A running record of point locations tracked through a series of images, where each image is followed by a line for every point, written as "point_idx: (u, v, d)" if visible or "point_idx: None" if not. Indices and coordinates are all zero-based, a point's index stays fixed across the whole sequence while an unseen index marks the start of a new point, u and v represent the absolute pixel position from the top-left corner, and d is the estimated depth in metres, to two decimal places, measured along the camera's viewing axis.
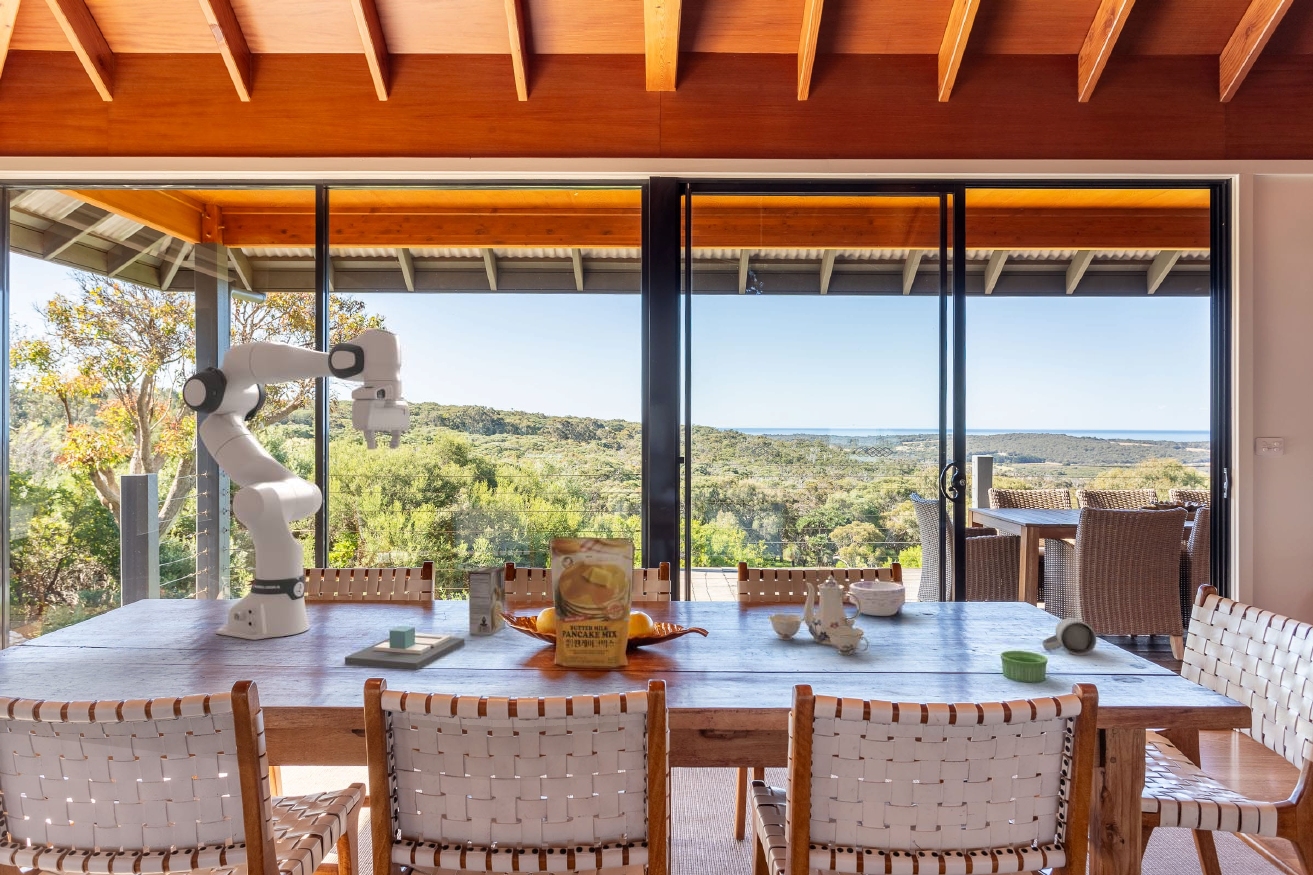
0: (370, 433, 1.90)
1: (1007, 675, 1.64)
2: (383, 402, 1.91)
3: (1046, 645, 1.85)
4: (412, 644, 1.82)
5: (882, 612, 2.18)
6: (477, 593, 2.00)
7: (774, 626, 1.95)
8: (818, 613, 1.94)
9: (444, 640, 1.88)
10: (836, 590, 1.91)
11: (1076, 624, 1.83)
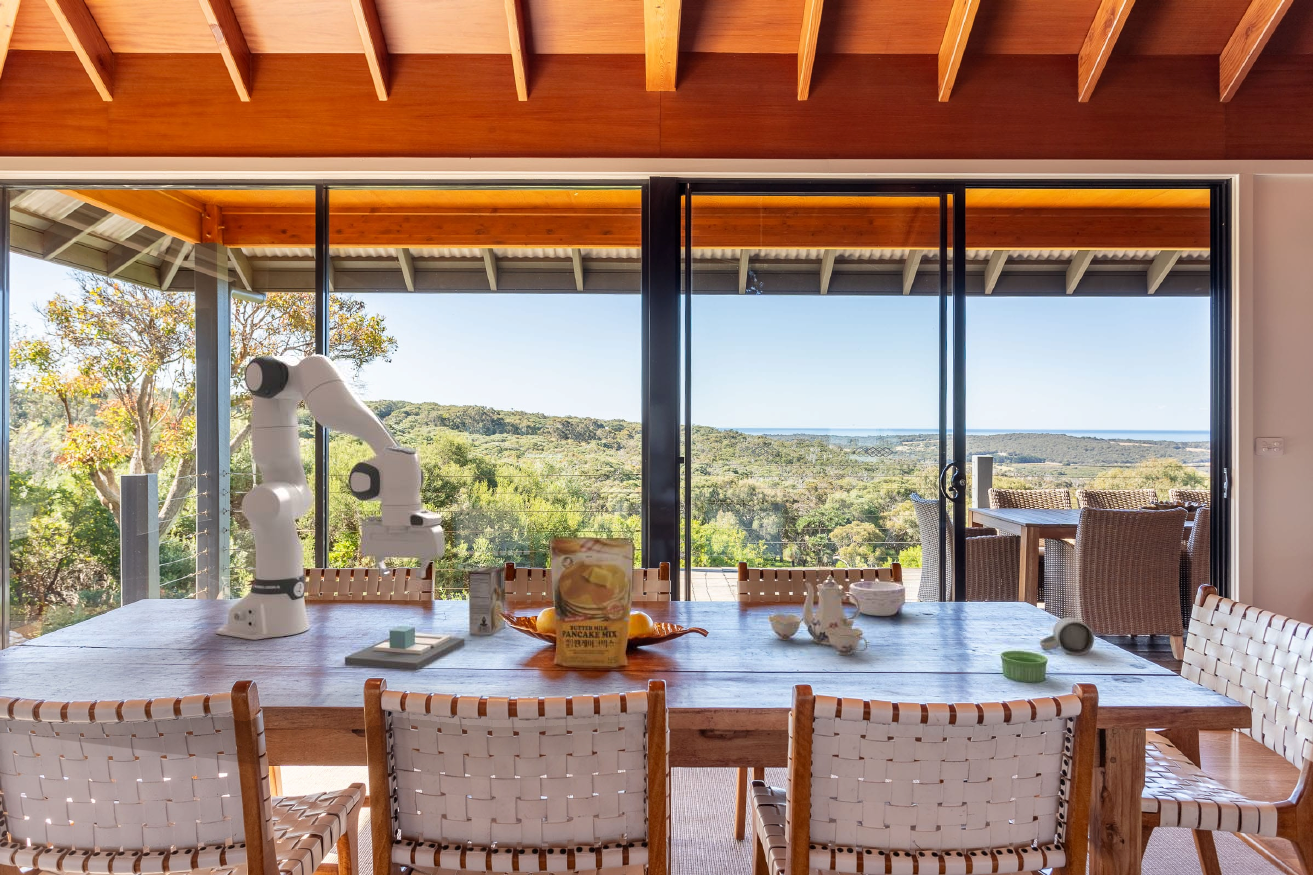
0: (429, 560, 1.80)
1: (1007, 675, 1.64)
2: None
3: (1044, 645, 1.85)
4: (412, 644, 1.82)
5: (882, 612, 2.18)
6: (477, 593, 2.00)
7: (773, 626, 1.95)
8: (817, 613, 1.93)
9: (444, 640, 1.88)
10: (835, 590, 1.91)
11: (1074, 624, 1.83)
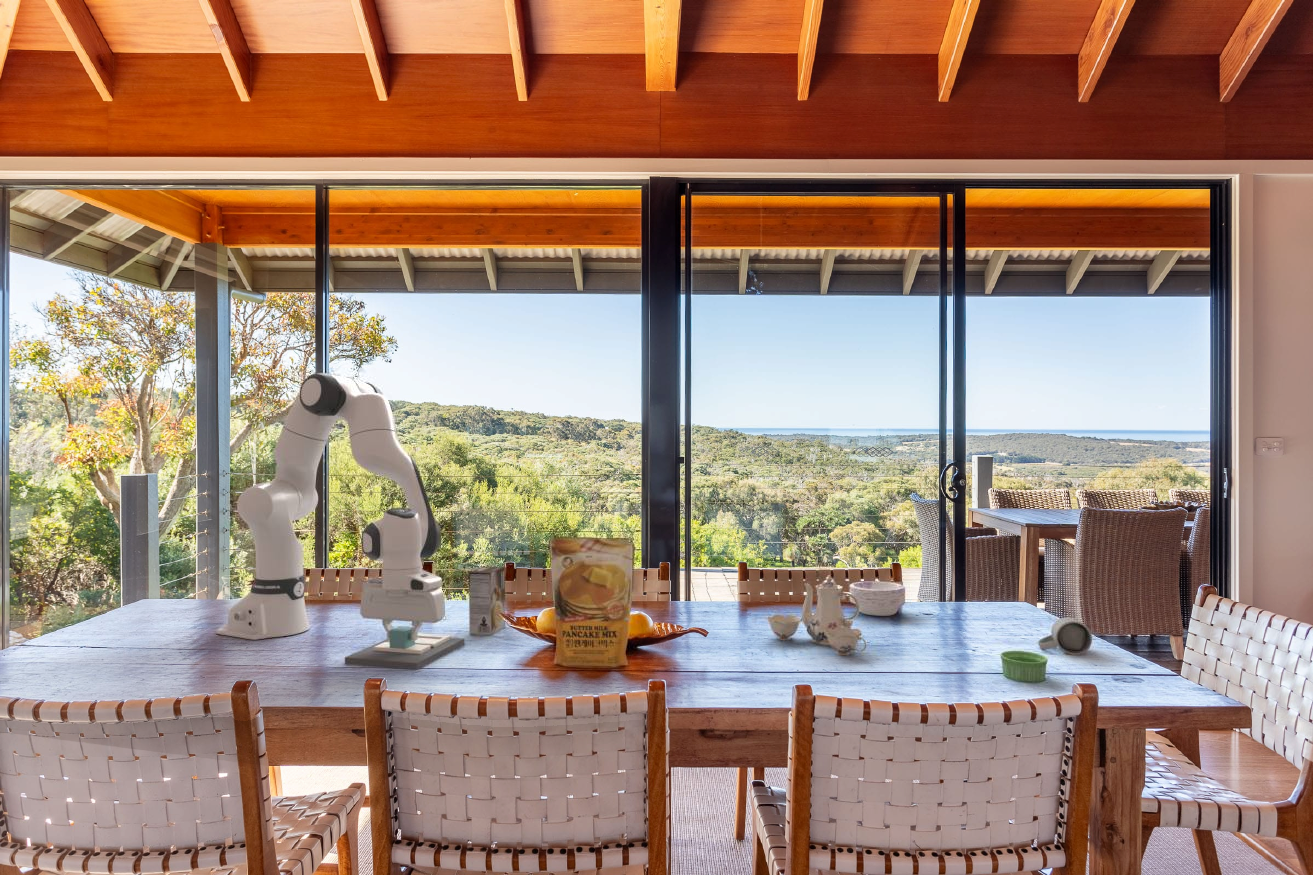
0: (421, 622, 1.81)
1: (1007, 675, 1.64)
2: None
3: (1042, 645, 1.85)
4: (412, 644, 1.82)
5: (882, 612, 2.18)
6: (477, 593, 2.00)
7: (772, 627, 1.95)
8: (816, 613, 1.93)
9: (444, 640, 1.88)
10: (834, 590, 1.91)
11: (1072, 624, 1.83)
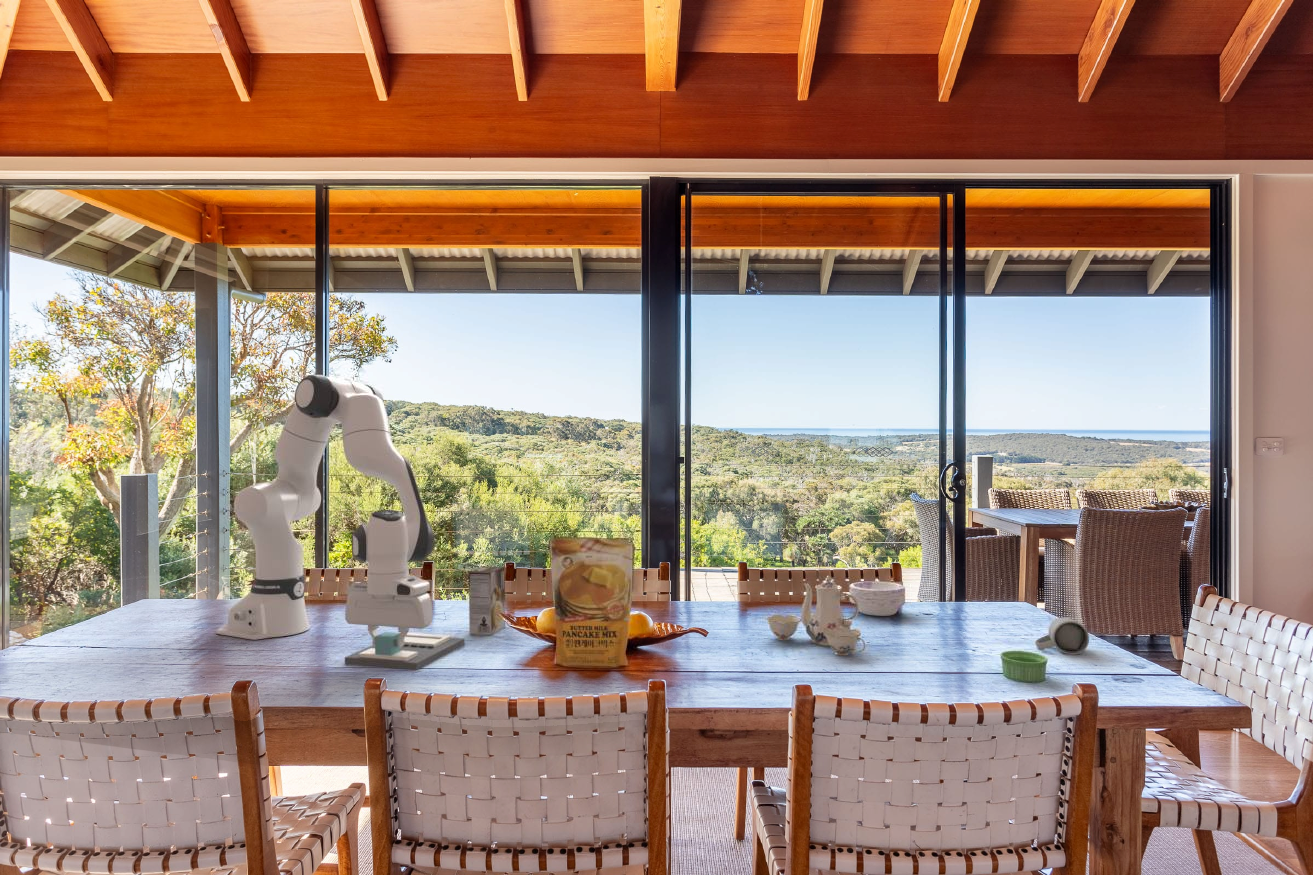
0: (408, 628, 1.75)
1: (1007, 675, 1.64)
2: None
3: (1039, 644, 1.85)
4: (398, 650, 1.76)
5: (882, 612, 2.18)
6: (477, 593, 2.00)
7: (771, 627, 1.94)
8: (815, 614, 1.93)
9: (444, 640, 1.88)
10: (833, 591, 1.91)
11: (1069, 623, 1.83)
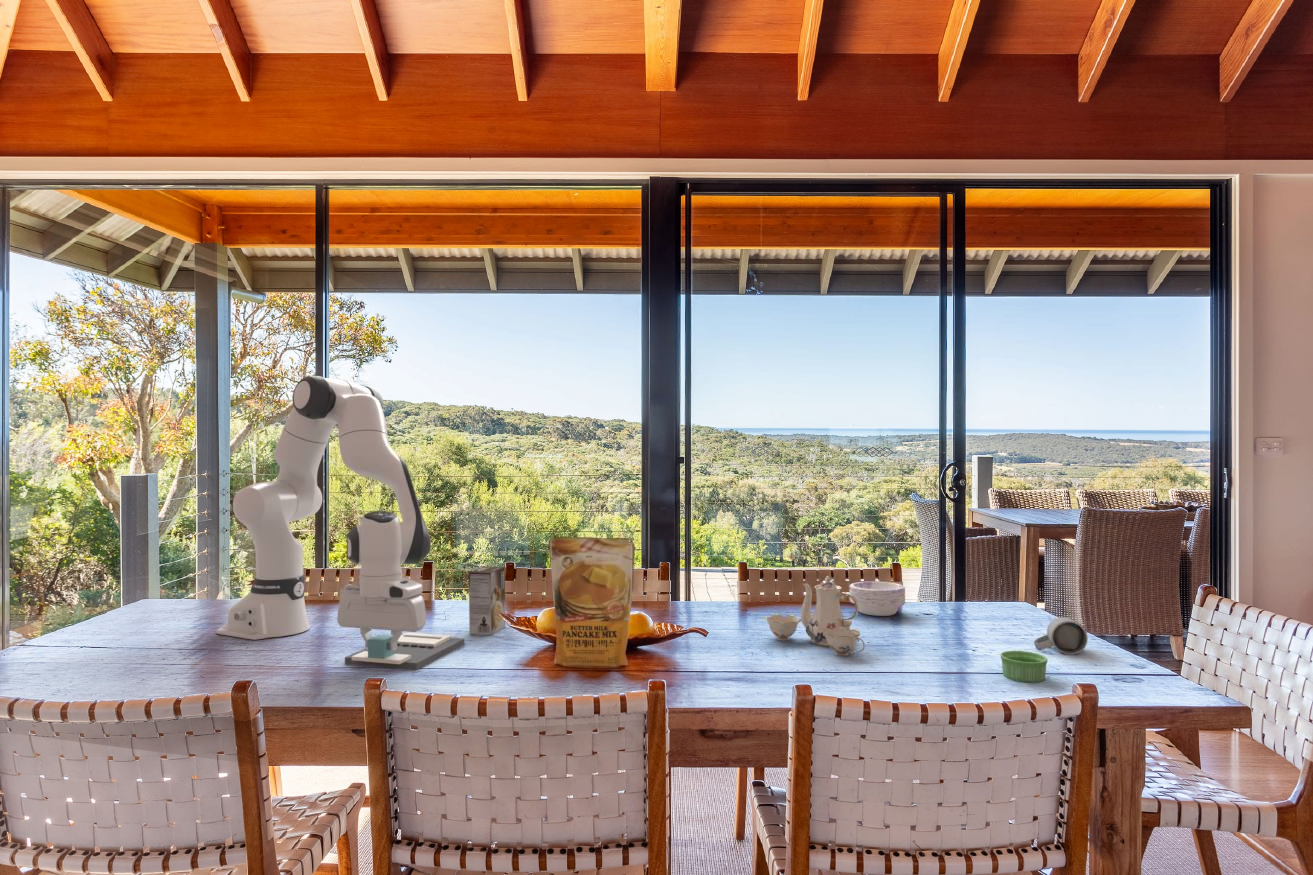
0: (401, 631, 1.73)
1: (1007, 675, 1.64)
2: None
3: (1037, 644, 1.85)
4: (392, 654, 1.74)
5: (882, 612, 2.18)
6: (477, 593, 2.00)
7: (771, 627, 1.94)
8: (815, 614, 1.93)
9: (444, 640, 1.88)
10: (833, 591, 1.91)
11: (1067, 623, 1.83)
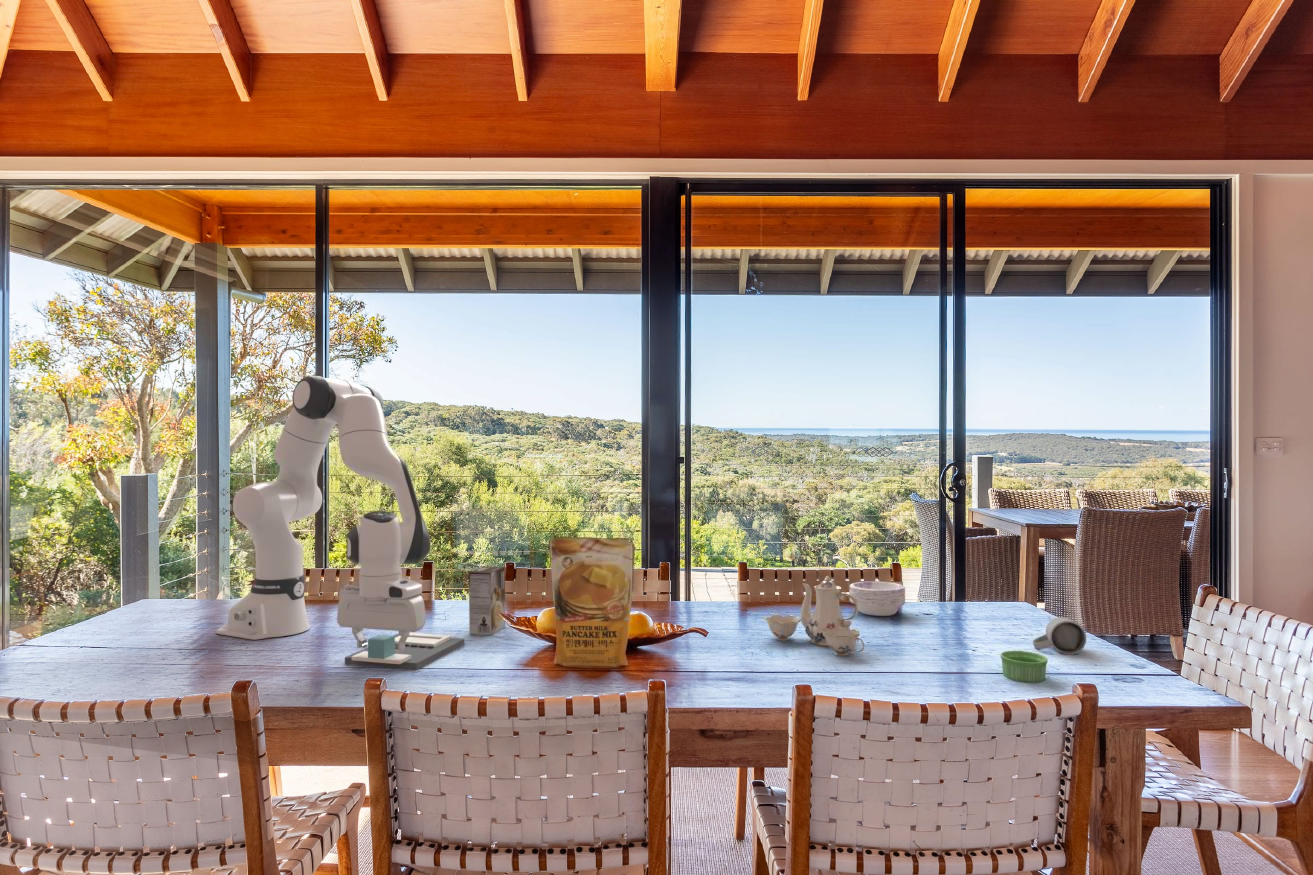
0: (408, 632, 1.72)
1: (1007, 675, 1.64)
2: None
3: (1036, 644, 1.85)
4: (392, 654, 1.74)
5: (882, 612, 2.18)
6: (477, 593, 2.00)
7: (770, 627, 1.94)
8: (815, 614, 1.93)
9: (444, 640, 1.88)
10: (833, 591, 1.90)
11: (1066, 623, 1.83)
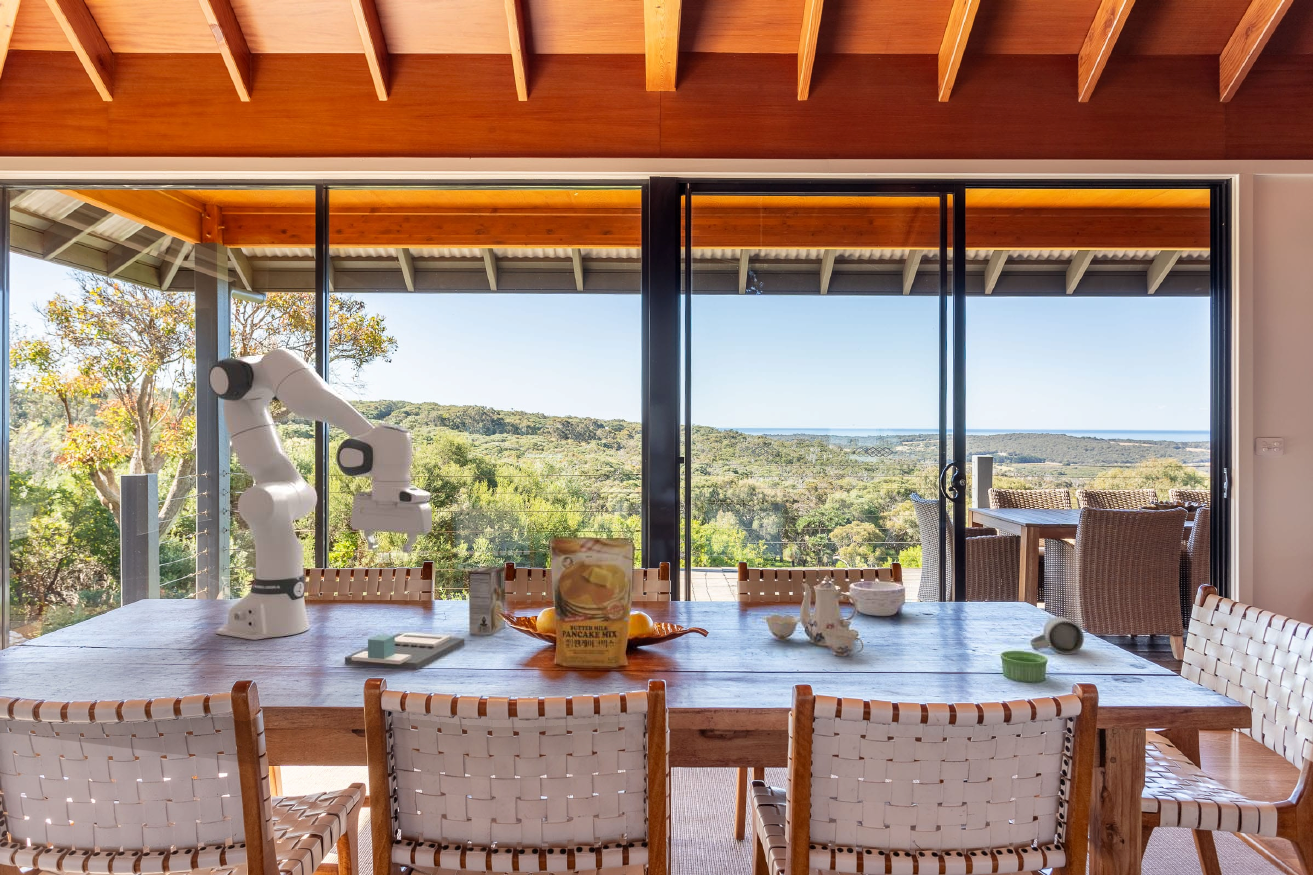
0: (416, 536, 1.86)
1: (1007, 675, 1.64)
2: None
3: (1034, 644, 1.86)
4: (392, 654, 1.74)
5: (882, 612, 2.18)
6: (477, 593, 2.00)
7: (770, 627, 1.94)
8: (814, 614, 1.92)
9: (444, 640, 1.88)
10: (832, 591, 1.90)
11: (1064, 623, 1.84)
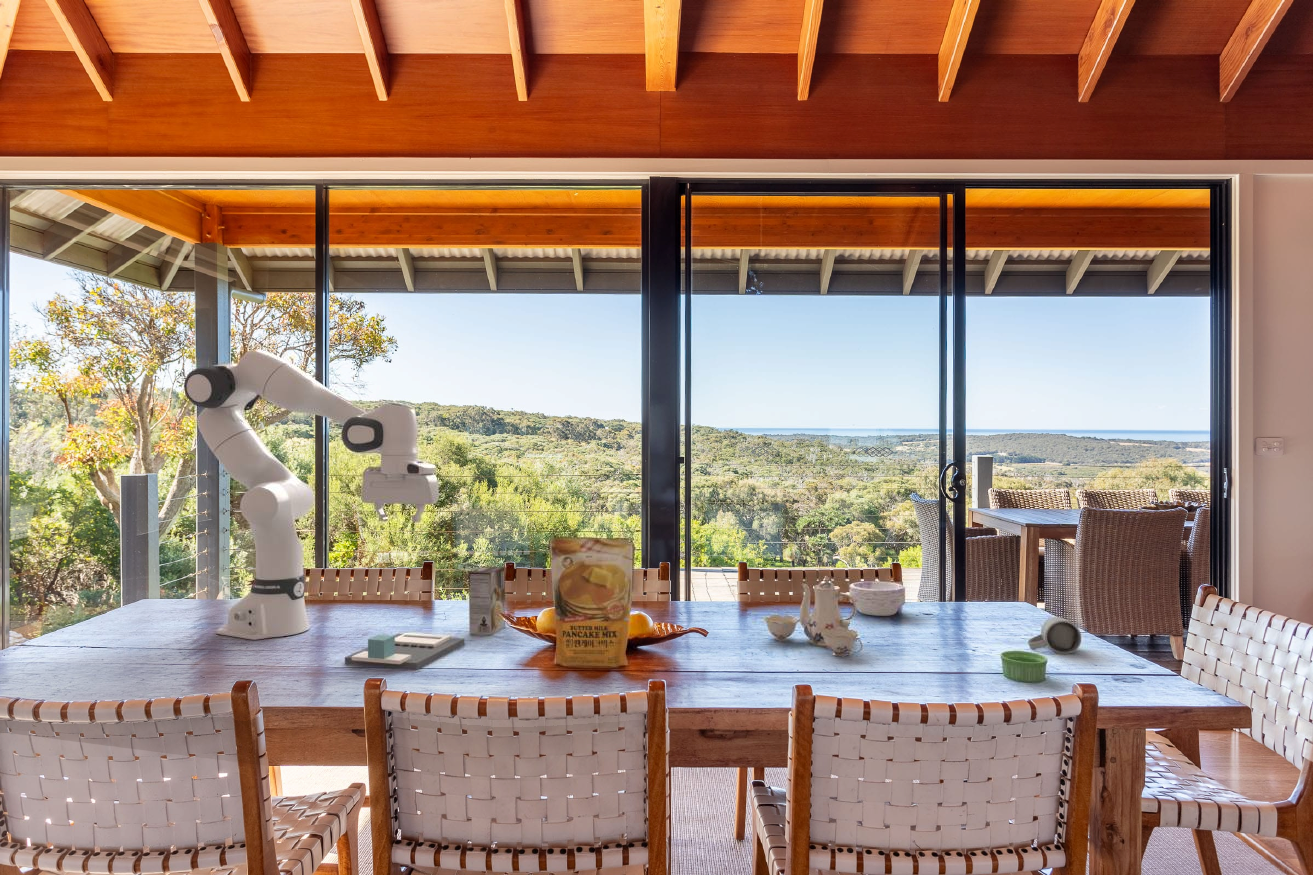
0: (424, 506, 1.97)
1: (1007, 675, 1.64)
2: None
3: (1032, 644, 1.86)
4: (392, 654, 1.74)
5: (882, 612, 2.18)
6: (477, 593, 2.00)
7: (769, 627, 1.94)
8: (813, 614, 1.92)
9: (444, 640, 1.88)
10: (831, 591, 1.90)
11: (1061, 623, 1.84)
